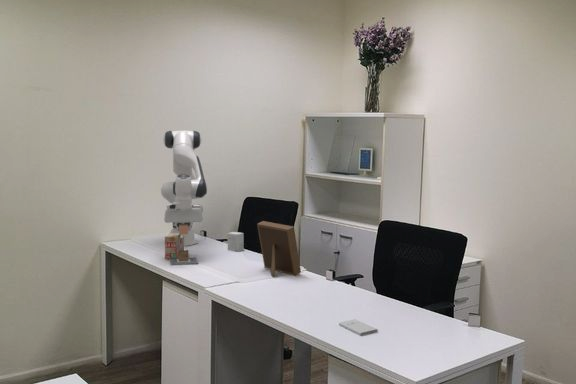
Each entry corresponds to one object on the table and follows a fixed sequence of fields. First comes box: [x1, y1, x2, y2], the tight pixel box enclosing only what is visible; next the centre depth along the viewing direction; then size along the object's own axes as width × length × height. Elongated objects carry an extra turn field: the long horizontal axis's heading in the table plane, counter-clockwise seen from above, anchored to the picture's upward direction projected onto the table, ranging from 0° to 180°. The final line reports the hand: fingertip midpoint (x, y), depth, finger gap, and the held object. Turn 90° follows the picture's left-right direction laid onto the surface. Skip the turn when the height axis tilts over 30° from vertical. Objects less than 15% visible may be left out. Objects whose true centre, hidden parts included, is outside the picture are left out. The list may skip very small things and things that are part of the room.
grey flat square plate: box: [169, 256, 199, 266], centre depth 301 cm, size 14×14×1 cm
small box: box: [227, 231, 245, 252], centre depth 331 cm, size 8×6×10 cm
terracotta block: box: [179, 224, 188, 234], centre depth 299 cm, size 4×4×4 cm
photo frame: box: [256, 220, 302, 278], centre depth 280 cm, size 15×22×25 cm
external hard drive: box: [338, 319, 379, 337], centre depth 204 cm, size 2×8×12 cm
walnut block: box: [178, 249, 190, 262], centre depth 300 cm, size 5×5×5 cm
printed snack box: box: [164, 232, 185, 259], centre depth 315 cm, size 21×6×12 cm, turn 179°
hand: (183, 230), depth 299 cm, fingers closed on terracotta block, 4 cm apart
